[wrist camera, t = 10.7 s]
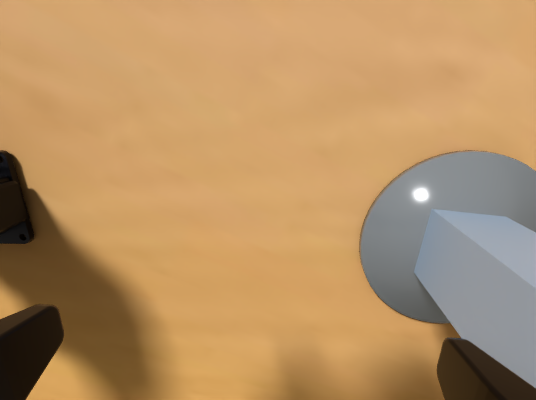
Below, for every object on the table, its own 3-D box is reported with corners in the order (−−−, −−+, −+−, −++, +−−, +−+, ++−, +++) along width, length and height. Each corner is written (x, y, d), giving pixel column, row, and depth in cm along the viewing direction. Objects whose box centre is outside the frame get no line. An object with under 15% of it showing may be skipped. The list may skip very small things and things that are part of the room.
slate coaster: (353, 315, 22) (354, 320, 22) (367, 151, 18) (369, 152, 18) (526, 319, 21) (532, 326, 21) (578, 149, 18) (587, 151, 17)
